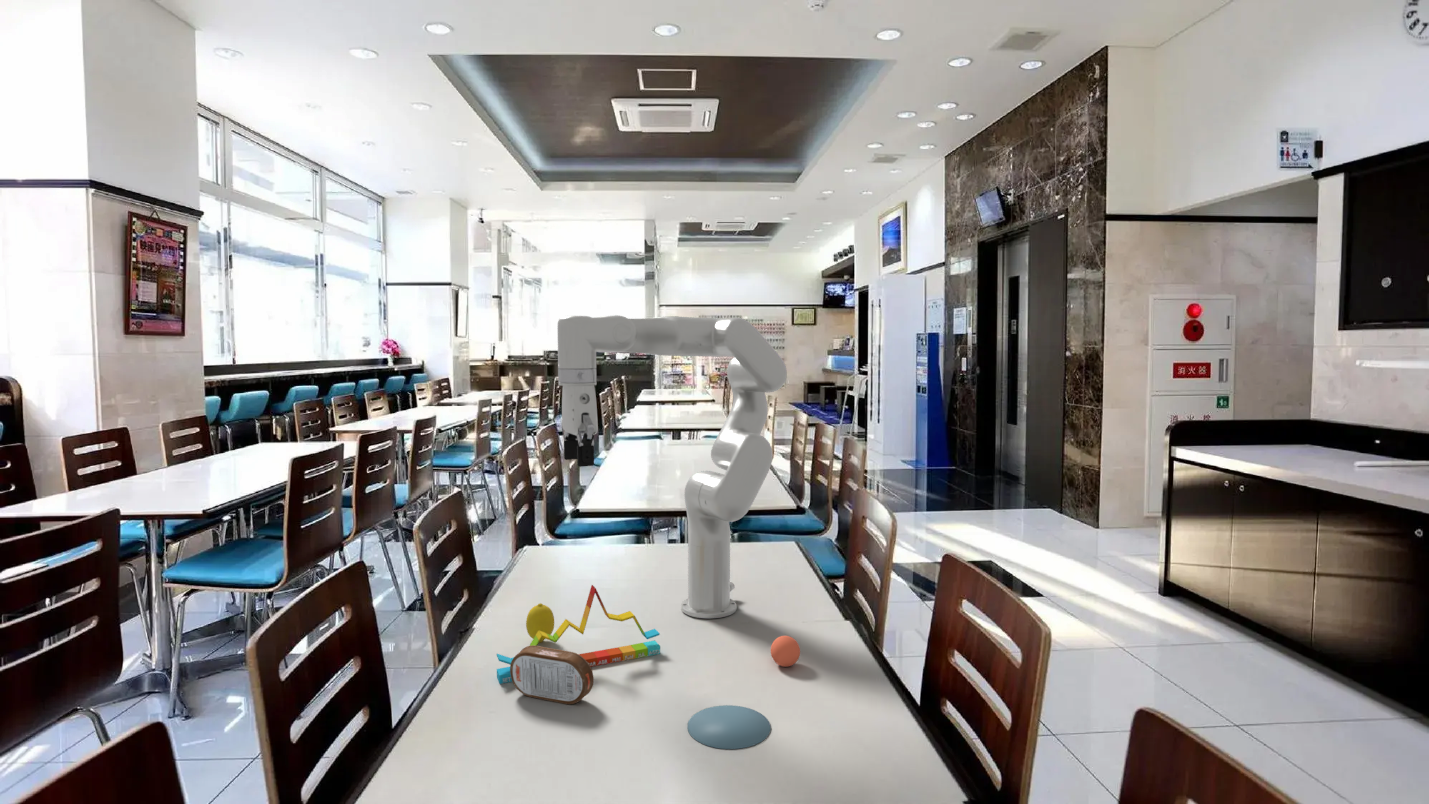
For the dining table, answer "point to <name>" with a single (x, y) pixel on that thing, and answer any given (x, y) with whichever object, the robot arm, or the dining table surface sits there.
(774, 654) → the ball
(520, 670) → the tin
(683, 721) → the dining table surface
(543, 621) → the lemon
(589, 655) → the chart
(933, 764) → the dining table surface
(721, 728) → the disc
